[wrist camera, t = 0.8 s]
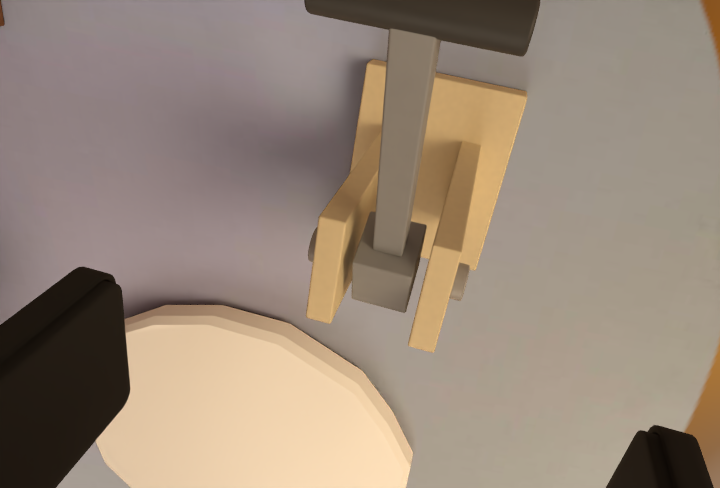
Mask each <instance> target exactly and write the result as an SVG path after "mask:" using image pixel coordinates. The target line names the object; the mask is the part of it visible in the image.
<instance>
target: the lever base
mask: <svg viewBox="0 0 720 488" xmlns="http://www.w3.org/2000/svg"><path fill="white" fill-rule="evenodd" d="M386 64H387V62H385V61H380V60H375V59H372V60H371V61H369V62H368V63H367V66H366V72H365V79H364V85H363V92H362V98H361V105H360V111H359V118H358V124H357V130H356V137H355V143H354V150H353V156H352V163H351V169H350V175H349V176H348V177H347V179H346V180H345V182H344V183H343V184H342V186H341V187H340V188H339V190H338V191H337V193H336V194H335V195H334V197H333V198H332V199H331V201H330V202H329V204H328V205H327V206H326V208H325V209H324V210H323V212H322V213H321V215H320V216H319V220H318V227H317V228H316V229H315V231H314V233H313V235H312V238H311V241H310V245H309V251H308V259H309V261H311V262H313V266H312V273H311V281H310V289H309V296H308V304H307V311H306V317H307V318H311V319H314V320H318V321H321V322H325V323H328V324H330V323H331V321H332V319H333V317H334V315H335V313H336V311H337V309H338V307H339V305H340V303H341V301H342V299H343V297H344V295H345V293H346V291H347V289H348V287H349V285H350V283H351V281H352V262H353V259H354V256H355V253H356V250H357V247H358V245H359V242H360V239H361V236H362V233H363V230H364V228H365V225H366V222H367V219H368V216H369V213H370V212H371V211H372V212H376V198H377V185H378V172H379V158H380V145H381V131H382V118H383V104H384V91H385V77H386ZM526 101H527V92H526V91H522V90H517V89H512V88H508V87H503V86H498V85H493V84H489V83H484V82H479V81H474V80H470V79H465V78H460V77H456V76H451V75H446V74H441V73H437V72H435V78H434V84H433V90H432V96H431V102H430V108H429V114H428V120H427V126H426V132H425V138H424V145H423V151H422V157H421V163H420V169H419V175H418V181H417V187H416V193H415V199H414V205H413V211H412V217H411V221H413V222H417V223H421V224H425V225H426V226H427V229H426V233H425V238H424V243H423V248H422V252H421V257H423V258H427V259H429V262H428V266H427V270H426V274H425V278H424V282H423V286H422V290H421V294H420V298H419V302H418V306H417V310H416V314H415V318H414V322H413V326H412V330H411V334H410V338H409V342H408V346H410V347H414V348H417V349H421V350H425V351H428V352H432V353H433V352H434V351H435V347H436V343H437V340H438V336H439V333H440V329H441V326H442V322H443V319H444V315H445V311H446V308H447V304H448V301H449V298H451V299H454V300H458V301H461V299H462V297H463V294H464V290H465V287H466V283H467V279H468V274H469V269H470V270H476V267H477V264H478V261H479V257H480V254H481V251H482V247H483V244H484V241H485V237H486V234H487V231H488V227H489V224H490V221H491V217H492V214H493V211H494V207H495V204H496V201H497V197H498V194H499V191H500V187H501V184H502V181H503V177H504V174H505V171H506V167H507V164H508V161H509V157H510V154H511V151H512V147H513V144H514V141H515V137H516V134H517V131H518V128H519V124H520V121H521V118H522V114H523V111H524V108H525V104H526Z"/></svg>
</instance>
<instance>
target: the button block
mask: <svg viewBox="0 0 720 488" xmlns="http://www.w3.org/2000/svg"><path fill="white" fill-rule="evenodd" d="M0 26H4V19H3V13H2V6H1V0H0Z"/></svg>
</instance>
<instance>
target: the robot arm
mask: <svg viewBox="0 0 720 488" xmlns="http://www.w3.org/2000/svg"><path fill="white" fill-rule="evenodd" d="M129 394H130V378H129V367H128V356H127V344H126V333H125V321H124V310H123V298H122V290H121V287H120V286H119V285H118V284H116V282H115V278H114V277H113V276H112V275H111V274H108V273H104V272H101V271H97V270H94V269H90V268H86V267H78V268H76V269H75V270H73V271H72V272H70V273H69V274H68V275H66V276H65V277H64V278H62V279H61V280H60V281H58V282H57V283H56V284H54V285H53V286H52V287H50V288H49V289H48V290H46V291H45V292H44V293H42V294H41V295H40V296H38V297H37V298H36V299H34V300H33V301H32V302H30V303H29V304H28V305H26V306H25V307H24V308H22V309H21V310H20V311H18V312H17V313H16V314H14V315H13V316H12V317H10V318H9V319H8V320H6V321H5V322H4V323H2V324H1V325H0V488H56V487H57V486H58V484H59V483H60V482H61V481H62V480H63V479H64V477H65V476H66V475H67V474H68V473H69V471H70V470H71V469H72V468H73V467H74V465H75V464H76V463H77V462H78V461H79V460H80V458H81V457H82V456H83V455H84V454H85V452H86V451H87V450H88V449H89V448H90V446H91V445H92V444H93V443H94V442H95V441H96V439H97V438H98V437H99V436H100V435H101V433H102V432H103V431H104V430H105V429H106V427H107V426H108V425H109V424H110V423H111V422H112V420H113V419H114V418H115V417H116V416H117V414H118V413H119V412H120V411H121V410H122V408H123V407H124V406H125V404H126V402H127V400H128V397H129ZM606 488H714V487H713V485H712V482H711V479H710V476H709V473H708V471H707V467H706V464H705V461H704V458H703V455H702V452H701V450H700V447H699V444H698V442H697V440H696V438H695V437H694V436H693V435H690V434H686V433H683V432H679V431H676V430H672V429H669V428H665V427H661V426H658V425H654V426H652V427H651V428H650V429H649V431H648V432H646V431H641V430H640V431H638V432H637V433H636V435H635V436H634V438H633V440H632V442H631V444H630V445H629V447H628V449H627V451H626V453H625V454H624V456H623V458H622V460H621V462H620V463H619V465H618V467H617V469H616V470H615V472H614V474H613V476H612V478H611V479H610V481H609V483H608V485H607V487H606Z"/></svg>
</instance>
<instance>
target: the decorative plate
mask: <svg viewBox="0 0 720 488" xmlns="http://www.w3.org/2000/svg"><path fill="white" fill-rule="evenodd" d="M124 321H125V333H126V344H127V356H128V367H129V378H130V394H129V397H128V400H127V402H126V404H125V406H124V407H123V408H122V410H121V411H120V412H119V413H118V414H117V416H116V417H115V418H114V419H113V420H112V422H111V423H110V424H109V425H108V426H107V427H106V429H105V430H104V431H103V432H102V433H101V435H100V436H99V437H98V438H97V439H96V443H97V446H98V448H99V450H100V452H101V455H102V457H103V459H104V461H105V463H106V464H107V465H108V466H109V467H110V468H111V469H112V470H113V471H114V472H115V473H116V474H117V475H118V476H119V477H120V478H121V479H122V480H123V481H125V482H126V483H127V484H128V485H129V486H130V487H131V488H406V484H407V480H408V475H409V471H410V467H411V462H412V457H413V452H412V450H411V448H410V446H409V444H408V442H407V440H406V438H405V436H404V434H403V432H402V430H401V428H400V426H399V424H398V422H397V420H396V417H395V415H394V413H393V412H392V410H391V409H390V407H389V406H388V405H387V403H386V402H385V401H384V399H383V398H382V397H381V395H380V394H379V393H378V391H377V390H376V389H375V387H374V386H373V384H372V383H371V382H370V380H369V379H368V378H367V376H366V375H365V374H364V372H363V371H362V370H360V369H359V368H357V367H356V366H354V365H352V364H351V363H349V362H348V361H346V360H345V359H343V358H342V357H340V356H339V355H337V354H336V353H334V352H333V351H331V350H330V349H328V348H326V347H325V346H323V345H322V344H320V343H319V342H317V341H316V340H314V339H313V338H311V337H310V336H308V335H307V334H305V333H304V332H302V331H300V330H299V329H297V328H296V327H294V326H293V325H291V324H290V323H286V322H282V321H279V320H275V319H271V318H268V317H264V316H261V315H257V314H253V313H250V312H246V311H242V310H239V309H235V308H231V307H228V306H224V305H165V306H162V307H159V308H156V309H153V310H150V311H147V312H144V313H141V314H138V315H135V316H132V317H129V318H127V319H124Z"/></svg>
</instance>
